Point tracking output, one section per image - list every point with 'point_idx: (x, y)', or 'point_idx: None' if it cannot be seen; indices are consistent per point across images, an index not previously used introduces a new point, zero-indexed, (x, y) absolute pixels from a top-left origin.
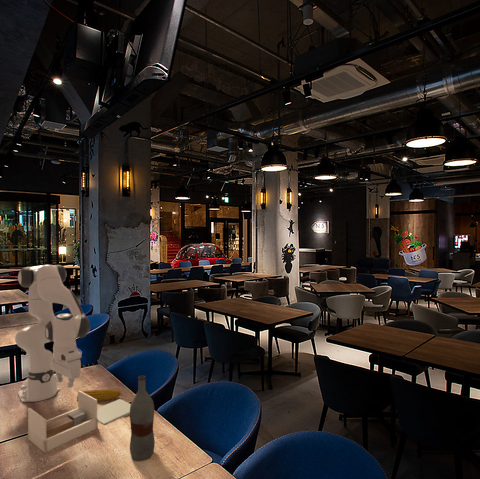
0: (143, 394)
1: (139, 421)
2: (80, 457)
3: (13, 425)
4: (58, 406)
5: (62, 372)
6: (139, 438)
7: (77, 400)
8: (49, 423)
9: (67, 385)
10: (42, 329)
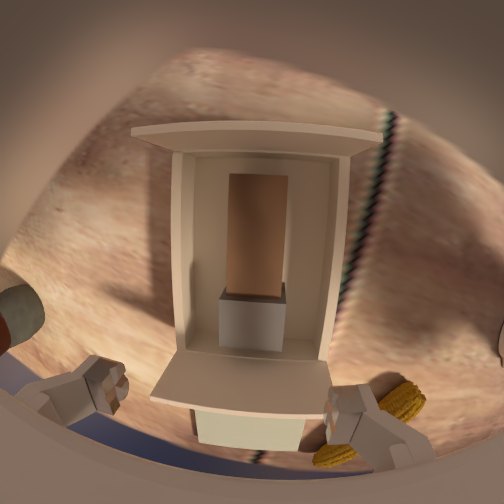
0: None
1: None
2: (92, 216)
3: (465, 182)
4: (450, 333)
5: (91, 479)
6: None
7: (409, 384)
8: (331, 235)
9: (114, 367)
10: None
